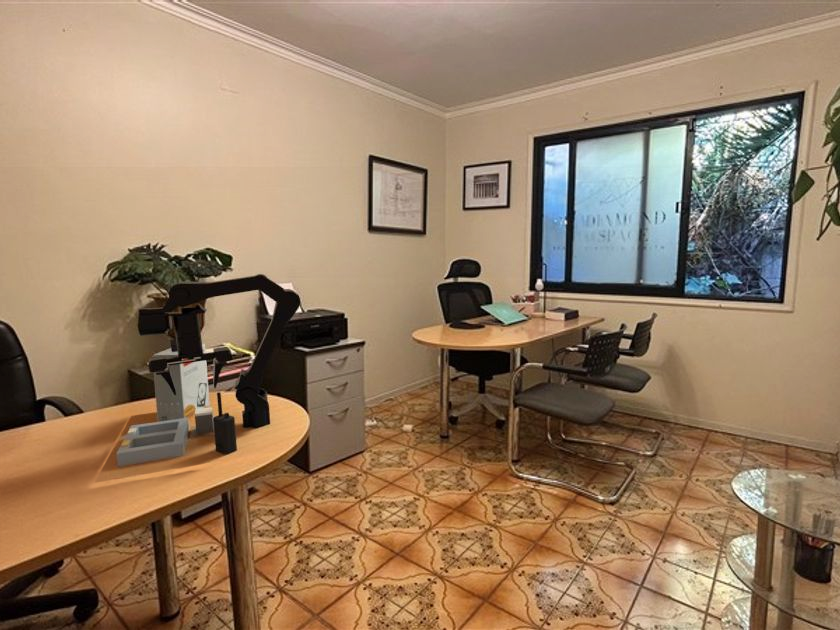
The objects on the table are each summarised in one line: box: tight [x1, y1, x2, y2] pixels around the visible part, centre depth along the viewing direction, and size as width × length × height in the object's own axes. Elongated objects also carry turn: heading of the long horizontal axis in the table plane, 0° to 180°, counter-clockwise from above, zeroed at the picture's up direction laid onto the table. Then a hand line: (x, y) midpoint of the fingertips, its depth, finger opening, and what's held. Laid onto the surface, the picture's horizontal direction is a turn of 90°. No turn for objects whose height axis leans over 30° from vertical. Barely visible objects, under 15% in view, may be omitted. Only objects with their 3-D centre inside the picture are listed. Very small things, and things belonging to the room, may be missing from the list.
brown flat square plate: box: [189, 425, 215, 439], centre depth 121 cm, size 7×8×1 cm
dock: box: [116, 418, 190, 467], centre depth 112 cm, size 13×17×4 cm
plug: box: [194, 406, 214, 434], centre depth 120 cm, size 4×4×5 cm
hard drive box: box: [151, 343, 211, 422], centre depth 132 cm, size 16×8×20 cm, turn 179°
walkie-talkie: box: [213, 391, 238, 455], centre depth 108 cm, size 5×3×15 cm
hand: (195, 391), depth 118 cm, fingers open, 9 cm apart
